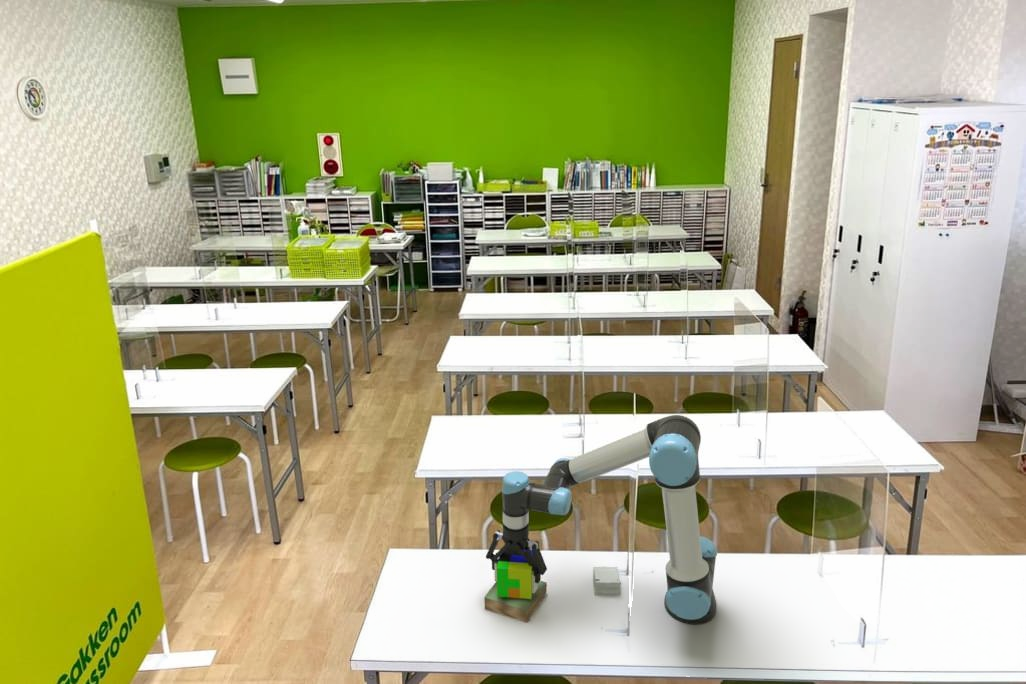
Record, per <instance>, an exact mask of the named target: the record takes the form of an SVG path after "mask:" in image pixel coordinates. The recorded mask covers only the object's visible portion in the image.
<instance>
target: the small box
mask: <svg viewBox="0 0 1026 684" xmlns="http://www.w3.org/2000/svg"><path fill="white" fill-rule="evenodd" d="M592 571H593V574H592V581H593V582H592V583H593V588H594V589H593V590H594V595H595V596H612V595H620V596H621V577H620V572H619V568H618V566H593V570H592Z"/></svg>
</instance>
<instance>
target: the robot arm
mask: <svg viewBox="0 0 1026 684" xmlns="http://www.w3.org/2000/svg"><path fill="white" fill-rule="evenodd" d="M701 435H702V434H701V431H700V429H699V427H698V425H697V424H696V422H694V420H692V419H691V418H689V417H687V416H685V415H680V414H672V415H668V416H665V417H662V418H659V419H657V420H654V421H652V422H649V423H648V424H646V426H645V428H644V429H642V430H639V431H637V432H635V433H632V434H630V435H627V436H624V437H622V438H620V439H617V440H615V441H612V442H610V443H608V444H605V445H603V446H600V447H598V448H595V449H593V450H591V451H588V452H585V453H583V454H581V455H577V456H575V457H573V458H571V459H570V458H564V457H561V458H558V459H557V460H556V461H554V463H553V464H552V465H551V467H550V468H549V472H548V473H547V475H546V477H545V479H544V481H543V482H542V484H541V483H534V482H531V481H530V479H529V475H528V474H526V473H524V472H523V471H515V470H513V471H510V472H507V473H506V474H505V475H504V476H503V478H502V488H501V494H502V495H501V498H502V532H501V531H500V530H499V529H497V530H496V531H495V532H494V533H493V535H492V542H491V544H490V547H489V548H488V551H487V553H486V555H485V558H486V560H491V570H492V571H494V582H495V583H496V582H497V565H498V561H499V557H500V556H501V555H502V554H503V553H504V552H505V551H506V550H507V549H508V548H509V549H510V550H511V551H516V552H518V553H520V554H521V555H522V556H523V557H524V558H525V560H526V561H527V563H528V564H529V566H532V571H533V574H532V593H535V591H536V590H537V588H538V583H539V581H542V580H541V579H542V577H541V576H543V575H544V574H545V573H546V572H547V570H548V568H547V565H546V561H545V559H544V557H543V554H542V553H541V552H542V551H541V550H540V542H539V541H538V540H535V541H531V540H530V538H529V535H530V534H529V533H530V532H529V531H530V525H529V524H530V523H529V520H530V519H529V518H530V517H529V515H530V514H529V513H530V512H529V511H536V512H541V513H545V514H550V515H553V516H554V515H559V516H566V515H567V514H568V513H569V512H570V509H571V505H572V499H573V498H572V491H571V490H570V489H571V488H572V487H575V486H577V485H580V484H582V483H584V482H587V481H589V480H593V479H595V478H598V477H600V476H603V475H605V474H608V473H610V472H613V471H616V470H619V469H621V468H624V467H627V466H629V465H632V464H635V463H637V462H640V461H642V460H645V459H648V461H649V462H648V464H649V465H648V466H649V469H650V472H651V473H652V475H653V476H654V481H655V484H656V485H657V486H658V487H659V488H661V493H662V502H663V510H664V519H665V526H666V535H667V543H668V544H667V545H668V552H669V553H668V554H669V555H668V556H669V560H668V562H667V563H666V564H665V575H666V576H665V577H666V585H667V591H666V592H665V595H664V609H665V610H666V612H667V613H668V614H669V616H671V617H672V618H673V619H675V620H677V621H679V622H682V623H685V624H689V625H702V624H705V623H709V622H710V621H712V619H714V618H715V616H716V613H717V608H718V606H717V605H718V604H717V599H716V595H715V592H714V589H713V587H714V586H713V585H714V576H715V568H716V561H717V555H718V552H717V545H716V543H714V541H712V540H710V539H709V538H707V537H706V536H703V535H701V533H700V522H699V514H698V512H699V511H698V503H697V492H696V486H697V484H699V482H700V480H701V471H700V464H699V463H700V461H699V450H700V446H701V442H702V441H701V440H702V439H701V438H702V436H701ZM500 540H502V541H503V543H504V545H503V546H502V548H500V549H499V550H498V551H497V552H496V553H495V554H494V552H495V550H496V548H497V546H498V543H499V541H500ZM524 549H525V551H524ZM530 549H531V550H532V553H533V555H532V553H531V552H530Z"/></svg>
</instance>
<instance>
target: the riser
mask: <svg viewBox="0 0 1026 684" xmlns="http://www.w3.org/2000/svg"><path fill="white" fill-rule="evenodd" d="M547 584H548V583H547V582H546V581H544V580H540V581H539V583H538V588H537V590H536V591H535V593H532V597H531V599H524V598H511V597H497V582H496V581H495V582H494V583H493V585H492V586H491V588H490V589H489V590H488V592H487V593H486V594H485V596H484V598H483V599H484V609H485V610H488V611H490V612H494V613H497V614H500V615H502V616H505V617H509V618H511V619H515V620H518V621H521V622H523V623H526V624H528V622H529V621H530V619H531V618H532V616H533V615H534V614H535V612H536V610H537V609H538V608H539V606H540V605H541V603H542V602H543V600H544V598H545V597H546V596H547V587H548V585H547Z"/></svg>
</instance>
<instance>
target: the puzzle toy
mask: <svg viewBox="0 0 1026 684" xmlns="http://www.w3.org/2000/svg"><path fill="white" fill-rule="evenodd" d="M502 547H503V546H502ZM502 547H501V548H502ZM501 548H500V549H501ZM524 551H525V549H524ZM530 552H531V553H532V550H531V548H530ZM532 555H533V553H532ZM532 574H533V571H532V566H529V564H528V563H527V561H526V560H525V558H524V557H523V556H522V555H521V554H520V553H518V552H516V551H511V550H510V549H509V548H508V549H507V550H506V551H505V552H504V553H503V554H502V555H501V556H500V557H499V561H498V565H497V597H511V598H524V599H531V597H532Z"/></svg>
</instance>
